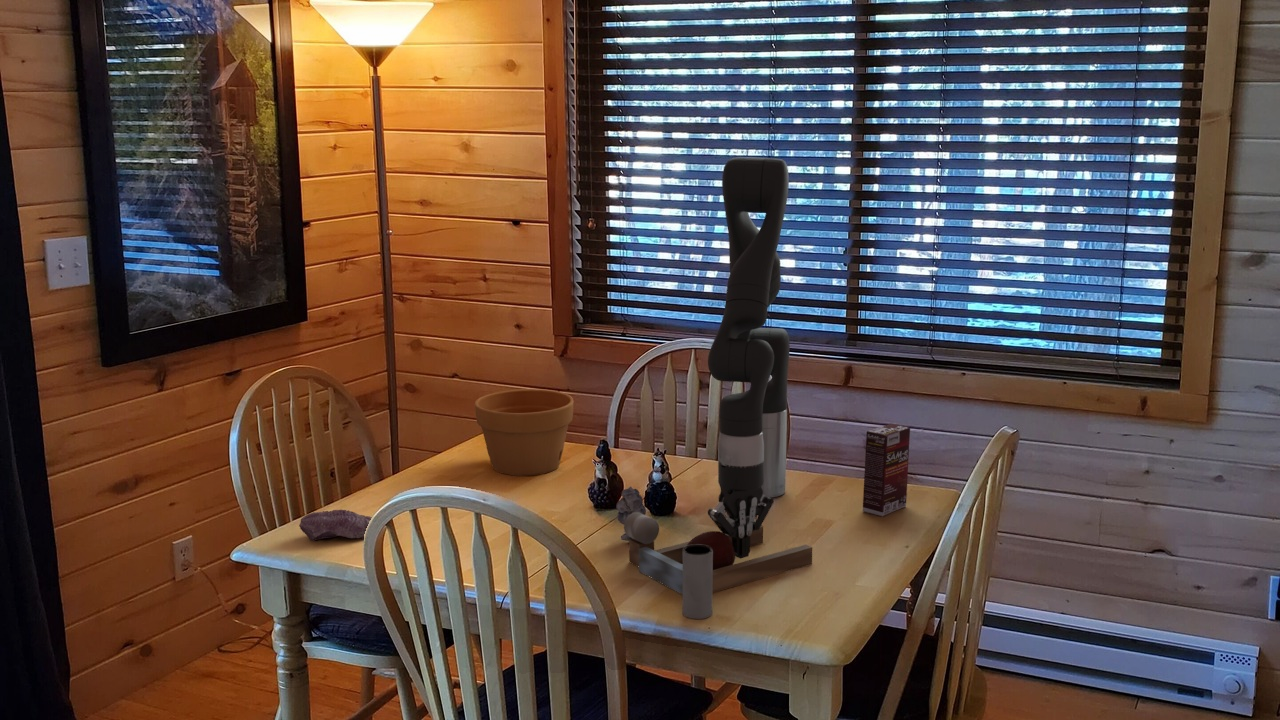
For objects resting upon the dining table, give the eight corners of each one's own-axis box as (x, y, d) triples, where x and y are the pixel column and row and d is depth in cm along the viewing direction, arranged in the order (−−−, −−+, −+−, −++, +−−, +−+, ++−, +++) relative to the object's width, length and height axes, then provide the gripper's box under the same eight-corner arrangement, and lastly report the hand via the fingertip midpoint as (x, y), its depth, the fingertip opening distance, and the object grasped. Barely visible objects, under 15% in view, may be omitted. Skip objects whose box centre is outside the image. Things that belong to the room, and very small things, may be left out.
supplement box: (883, 517, 224) (886, 435, 220) (861, 511, 227) (864, 431, 224) (908, 506, 230) (911, 426, 227) (886, 501, 233) (889, 422, 230)
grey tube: (708, 606, 183) (709, 542, 181) (715, 618, 179) (715, 553, 177) (679, 608, 183) (680, 544, 181) (685, 620, 178) (685, 555, 176)
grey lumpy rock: (633, 547, 209) (632, 492, 207) (611, 540, 212) (610, 486, 210) (653, 539, 212) (653, 486, 210) (632, 533, 216) (631, 480, 214)
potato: (679, 566, 200) (679, 527, 198) (727, 562, 202) (727, 522, 200) (691, 583, 193) (691, 542, 191) (741, 578, 195) (741, 537, 193)
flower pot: (557, 484, 245) (556, 414, 242) (461, 477, 250) (459, 409, 247) (586, 456, 265) (585, 391, 262) (496, 450, 270) (494, 386, 267)
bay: (622, 562, 202) (621, 515, 200) (739, 532, 216) (740, 488, 214) (690, 599, 186) (690, 548, 185) (811, 564, 200) (813, 516, 199)
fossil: (297, 535, 216) (296, 507, 215) (376, 526, 221) (375, 499, 220) (301, 549, 209) (300, 521, 208) (383, 540, 214) (382, 512, 213)
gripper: (756, 445, 203) (756, 541, 207) (695, 459, 196) (696, 558, 200) (786, 455, 197) (785, 554, 201) (724, 470, 190) (724, 572, 194)
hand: (740, 556), depth 200 cm, fingers closed
